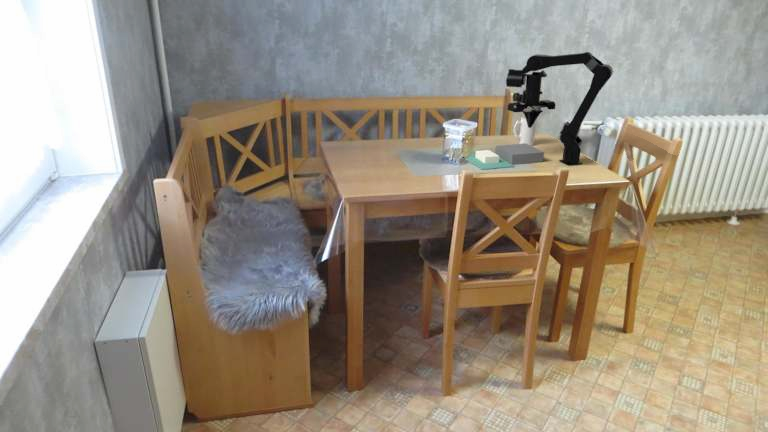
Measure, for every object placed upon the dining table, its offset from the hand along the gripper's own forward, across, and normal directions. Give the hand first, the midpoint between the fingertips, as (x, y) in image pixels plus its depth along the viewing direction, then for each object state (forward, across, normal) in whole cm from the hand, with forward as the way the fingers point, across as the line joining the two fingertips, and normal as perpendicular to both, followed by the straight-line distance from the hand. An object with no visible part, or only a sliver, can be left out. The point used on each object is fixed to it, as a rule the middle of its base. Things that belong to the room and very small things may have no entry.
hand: (529, 127), depth 219 cm
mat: (+12, +19, 0) cm, 22 cm away
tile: (+10, +18, 0) cm, 21 cm away
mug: (+12, -9, -18) cm, 24 cm away
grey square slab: (+12, +4, +1) cm, 13 cm away
